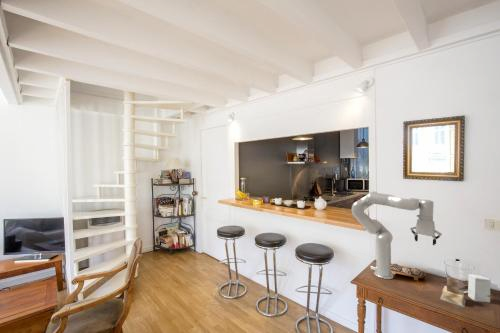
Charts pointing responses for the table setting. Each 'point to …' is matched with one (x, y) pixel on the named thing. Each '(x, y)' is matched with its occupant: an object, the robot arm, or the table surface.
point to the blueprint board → (455, 303)
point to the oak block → (453, 296)
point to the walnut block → (452, 285)
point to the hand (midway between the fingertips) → (424, 242)
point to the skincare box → (479, 288)
